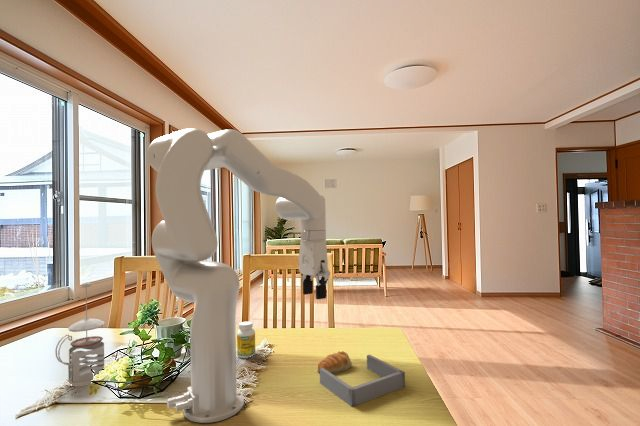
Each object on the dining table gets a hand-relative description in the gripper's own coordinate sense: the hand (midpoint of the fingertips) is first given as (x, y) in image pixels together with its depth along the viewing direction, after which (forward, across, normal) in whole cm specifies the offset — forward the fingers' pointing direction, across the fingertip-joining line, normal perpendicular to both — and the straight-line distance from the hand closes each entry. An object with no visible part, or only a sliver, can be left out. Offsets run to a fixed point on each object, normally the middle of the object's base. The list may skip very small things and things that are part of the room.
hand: (314, 295), depth 104 cm
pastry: (+18, +10, 0) cm, 21 cm away
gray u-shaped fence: (+18, +22, 0) cm, 28 cm away
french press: (+18, -21, -58) cm, 64 cm away
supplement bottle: (+18, -12, -17) cm, 27 cm away
